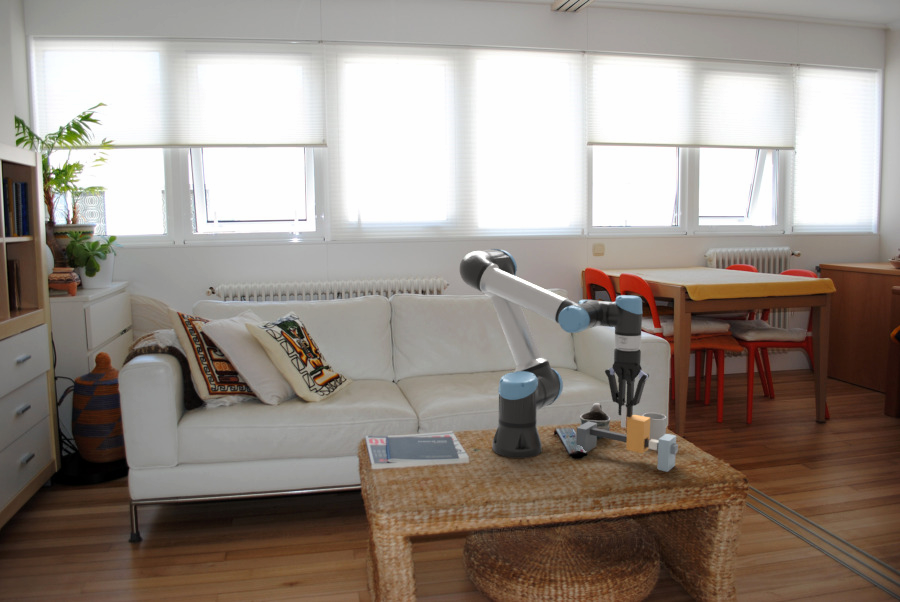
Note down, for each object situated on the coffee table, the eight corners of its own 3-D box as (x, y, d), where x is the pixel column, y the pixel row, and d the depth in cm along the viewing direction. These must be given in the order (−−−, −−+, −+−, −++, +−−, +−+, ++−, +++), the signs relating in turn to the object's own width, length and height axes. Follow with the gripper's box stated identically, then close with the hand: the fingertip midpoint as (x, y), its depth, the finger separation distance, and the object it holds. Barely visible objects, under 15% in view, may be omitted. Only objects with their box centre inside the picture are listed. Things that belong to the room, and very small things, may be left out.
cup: (669, 446, 208) (670, 419, 207) (638, 448, 207) (640, 420, 205) (658, 438, 215) (659, 412, 214) (629, 440, 214) (630, 413, 212)
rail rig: (575, 451, 203) (576, 422, 202) (587, 444, 210) (588, 416, 208) (670, 474, 186) (672, 443, 185) (680, 465, 192) (681, 435, 191)
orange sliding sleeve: (626, 449, 195) (627, 418, 194) (632, 445, 199) (634, 414, 197) (642, 453, 192) (644, 421, 191) (649, 448, 196) (650, 417, 194)
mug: (579, 441, 213) (580, 410, 211) (578, 428, 225) (579, 400, 224) (610, 443, 211) (611, 412, 210) (607, 430, 223) (608, 401, 222)
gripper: (601, 347, 195) (599, 425, 198) (644, 353, 187) (641, 434, 190) (611, 344, 201) (609, 419, 204) (654, 349, 193) (651, 427, 196)
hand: (625, 426), depth 197 cm, fingers closed
